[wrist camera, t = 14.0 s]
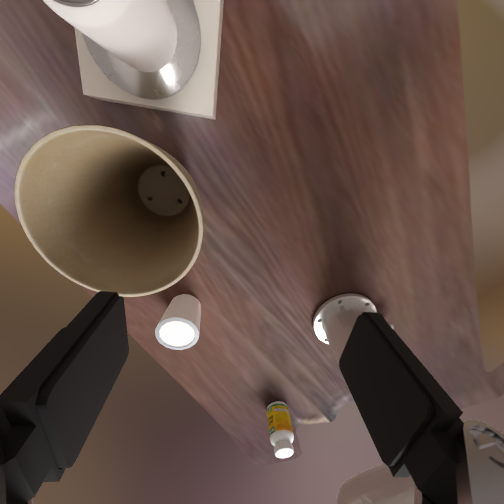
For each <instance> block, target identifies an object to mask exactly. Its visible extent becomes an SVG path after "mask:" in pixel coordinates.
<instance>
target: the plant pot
mask: <svg viewBox="0 0 504 504" xmlns="http://www.w3.org/2000/svg"><path fill="white" fill-rule="evenodd" d="M162 172H164V173H165V175H164V176H163V175H162V174H161V173H162ZM149 198H152V200H149ZM179 199H181V201H182V202H179V201H178V200H179ZM15 204H16V209H17V213H18V216H19V219H20V222H21V224H22V227H23V229H24V231H25V233H26V235H27V236H28V238H29V240H30V241H31V243H32V244H33V246H34V247H35V249H36V250H37V251H38V252H39V253H40V254H41V256H42V257H43V258H44V259H45V260H46V261H47V262H48V263H49V264H50V265H51V266H52V267H53V268H54V269H56V270H57V271H58V272H59V273H61V274H63V275H64V276H65V277H67V278H68V279H70V280H72V281H73V282H75V283H77V284H79V285H81V286H83V287H85V288H88V289H90V290H93V291H96V292H99V291H108V292H117V293H118V294H119V296H124V297H135V296H144V295H149V294H153V293H156V292H159V291H162V290H164V289H166V288H168V287H170V286H172V285H174V284H175V283H177V282H178V281H179V280H180V279H182V278H183V277H184V276H185V275H186V274H187V272H188V271H189V270H190V269H191V267H192V266H193V264H194V262H195V261H196V259H197V256H198V254H199V251H200V248H201V243H202V237H203V215H202V206H201V200H200V196H199V193H198V190H197V187H196V185H195V183H194V181H193V179H192V178H191V176H190V174H189V173H188V172H187V170H186V169H185V168H184V167H183V166H182V165H181V164H180V163H179V162H178V161H177V160H176V159H175V158H174V157H172V156H171V155H170V154H169V153H167V152H166V151H164V150H162V149H161V148H159V147H157V146H156V145H154V144H152V143H150V142H148V141H146V140H144V139H142V138H139V137H137V136H135V135H133V134H130V133H128V132H125V131H122V130H119V129H116V128H111V127H107V126H99V125H77V126H71V127H66V128H62V129H59V130H56V131H54V132H52V133H50V134H48V135H46V136H44V137H43V138H41V139H40V140H39V141H37V142H36V143H35V144H34V145H33V146H32V147H31V148H30V149H29V151H28V152H27V153H26V155H25V156H24V158H23V160H22V161H21V163H20V166H19V168H18V171H17V175H16V180H15Z"/></svg>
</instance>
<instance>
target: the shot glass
mask: <svg viewBox="0 0 504 504" xmlns="http://www.w3.org/2000/svg"><path fill="white" fill-rule="evenodd" d="M200 314H201V304H200V302H199V300H198V299H196V298H195V297H194V296H191V295H189V294H181V295H178V296H176V297H174V298H173V299H172V301H171V302H170V304H169V306H168V308H167V309H166V311H165V313H164V315H163V316H162V318H161V320H160V322H159V324H158V325H157V327H156V329H155V335H156V338H157V339H158V341H159V343H161V344H162V345H164V346H165V347H167V348H170V349H174V350H183V349H187V348H190V347H191V346H193V345H194V344H196V342H197V340H198V339H199V328H200Z"/></svg>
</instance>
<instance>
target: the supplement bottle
mask: <svg viewBox="0 0 504 504" xmlns="http://www.w3.org/2000/svg"><path fill="white" fill-rule="evenodd" d="M267 417H268V426H269V435H270V441H271V443H272V444H273V445H274V451H275V456H276V457H278V458H288V457H290V456H292V455H293V453H294V451H293V445H292V442H293V440H294V435H293V430H292V425H291V420H290V415H289V410H288V406H287V405H286V404H285V403H284V402H281V401H276V402H273V403H271V404H269V405H268V407H267Z"/></svg>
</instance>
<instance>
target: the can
mask: <svg viewBox="0 0 504 504" xmlns="http://www.w3.org/2000/svg"><path fill="white" fill-rule="evenodd" d="M43 1H44V2H45V3H46V4H47V5H48V6H49V7H50V8H51V9H52V10H53V11H54V12H55V13H57V14H58V15H59V16H60V17H62V18H63V19H64V20H65V21H67V22H68V23H70V24H71V25H72V26H74V27H75V28H76V29H78V30H79V31H81V32H82V33H83V34H85V35H86V36H88V37H89V38H90V39H92V40H93V41H95V42H96V43H97V44H99V45H100V46H102V47H103V48H104V49H106V50H107V51H109V52H110V53H112V54H113V55H114V56H116V57H117V58H119V59H120V60H122V61H123V62H124V63H126V64H127V65H129V66H131V67H132V68H134V69H136V70H139V71H143V72H155V71H158V70H160V69H162V68H164V67H165V66H166V65H167V64H168V63H169V62H170V60H171V59H172V57H173V55H174V52H175V49H176V44H177V29H176V24H175V20H174V17H173V14H172V11H171V9H170V6H169V4H168V2H167V0H43Z"/></svg>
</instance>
